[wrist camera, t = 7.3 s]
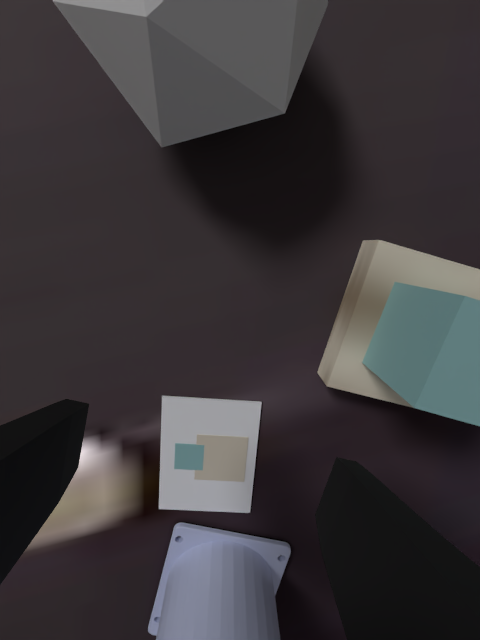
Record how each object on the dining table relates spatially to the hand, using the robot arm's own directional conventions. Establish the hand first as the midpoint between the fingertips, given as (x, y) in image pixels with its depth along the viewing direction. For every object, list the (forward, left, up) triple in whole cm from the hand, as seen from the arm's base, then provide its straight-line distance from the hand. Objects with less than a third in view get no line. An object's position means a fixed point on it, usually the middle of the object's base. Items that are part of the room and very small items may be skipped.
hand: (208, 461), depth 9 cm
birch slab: (+4, -10, -10) cm, 15 cm away
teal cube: (+4, -10, -8) cm, 13 cm away
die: (+14, +4, -10) cm, 18 cm away
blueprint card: (-7, -1, -10) cm, 12 cm away
